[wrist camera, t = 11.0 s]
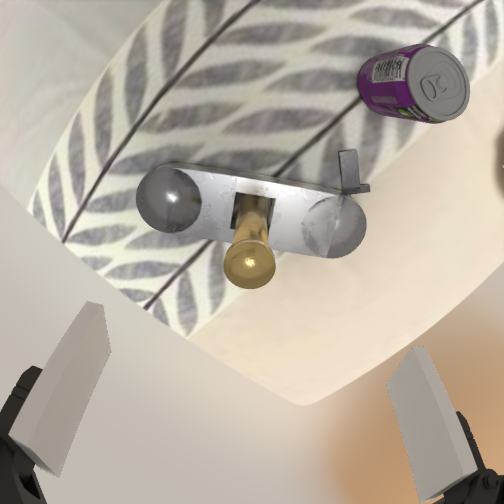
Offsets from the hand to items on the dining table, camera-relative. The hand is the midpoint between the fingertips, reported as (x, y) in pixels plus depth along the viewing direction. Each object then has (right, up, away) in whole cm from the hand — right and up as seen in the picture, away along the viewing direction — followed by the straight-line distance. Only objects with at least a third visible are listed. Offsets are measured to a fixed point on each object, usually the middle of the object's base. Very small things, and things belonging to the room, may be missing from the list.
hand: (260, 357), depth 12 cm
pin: (0, +9, +23) cm, 25 cm away
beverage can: (+14, +23, +16) cm, 32 cm away
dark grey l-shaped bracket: (+11, +13, +21) cm, 27 cm away
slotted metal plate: (0, +10, +23) cm, 25 cm away
